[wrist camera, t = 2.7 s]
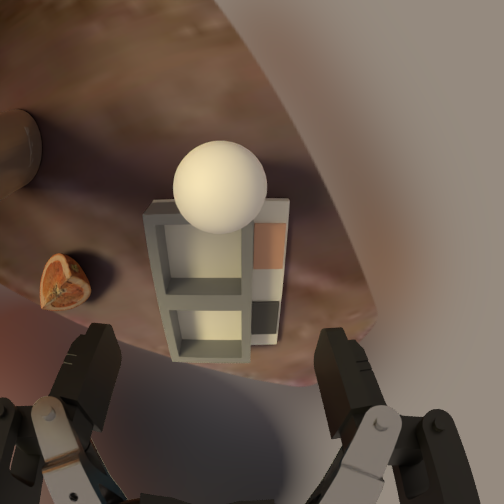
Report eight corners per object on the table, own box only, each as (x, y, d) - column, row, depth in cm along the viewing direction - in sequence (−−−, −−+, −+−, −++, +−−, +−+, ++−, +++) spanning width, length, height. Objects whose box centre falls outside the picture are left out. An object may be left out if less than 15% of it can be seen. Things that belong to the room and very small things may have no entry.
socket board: (176, 339, 36) (172, 361, 33) (153, 199, 27) (142, 214, 24) (275, 339, 37) (279, 361, 34) (288, 198, 28) (295, 213, 24)
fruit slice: (72, 232, 28) (50, 255, 24) (111, 274, 31) (95, 300, 27) (41, 268, 30) (23, 291, 26) (76, 304, 33) (61, 329, 29)
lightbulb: (248, 120, 24) (255, 135, 14) (266, 183, 27) (282, 235, 17) (182, 141, 24) (147, 170, 15) (203, 201, 27) (186, 262, 18)
